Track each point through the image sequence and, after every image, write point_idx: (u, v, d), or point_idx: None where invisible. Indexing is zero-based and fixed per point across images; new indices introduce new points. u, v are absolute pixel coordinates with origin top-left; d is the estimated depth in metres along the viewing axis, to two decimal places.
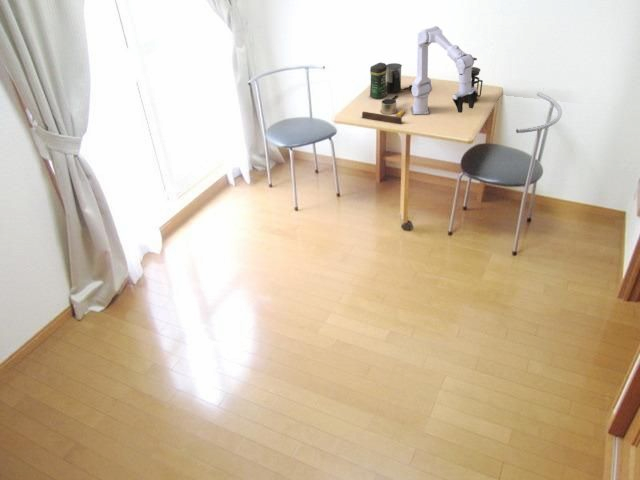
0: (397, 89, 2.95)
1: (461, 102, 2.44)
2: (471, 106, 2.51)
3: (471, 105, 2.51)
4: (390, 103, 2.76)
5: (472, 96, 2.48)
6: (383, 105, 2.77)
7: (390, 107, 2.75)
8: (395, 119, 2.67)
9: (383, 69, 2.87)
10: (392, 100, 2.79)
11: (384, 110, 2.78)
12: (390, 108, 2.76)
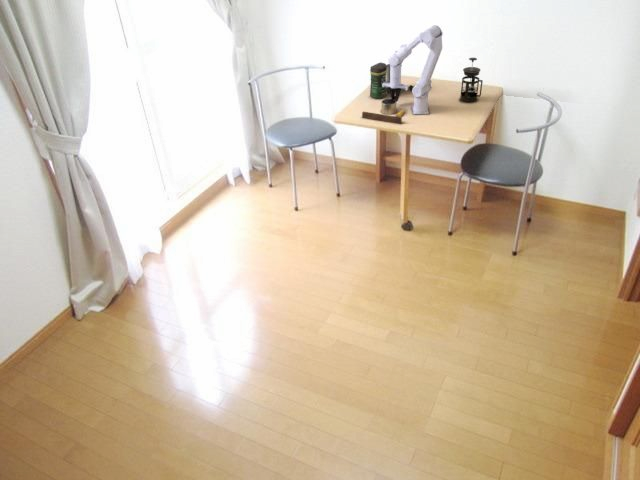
0: None
1: (389, 92, 2.81)
2: None
3: None
4: (390, 103, 2.76)
5: None
6: (383, 105, 2.77)
7: (390, 107, 2.75)
8: (395, 119, 2.67)
9: (383, 69, 2.87)
10: (392, 100, 2.79)
11: (384, 110, 2.78)
12: (390, 108, 2.76)
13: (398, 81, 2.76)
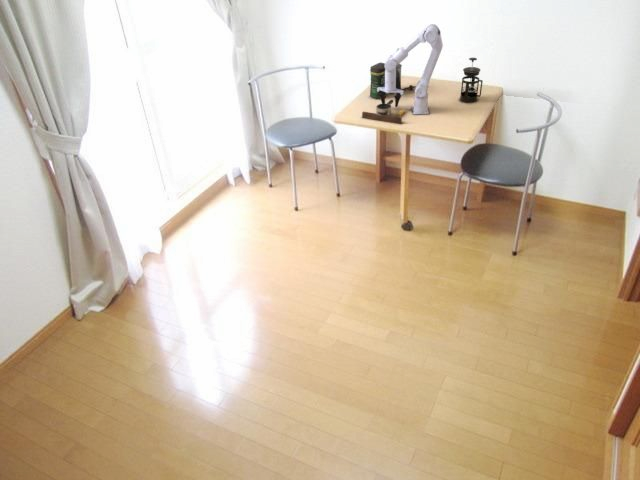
0: None
1: (380, 96, 2.78)
2: None
3: None
4: (385, 108, 2.71)
5: None
6: (378, 110, 2.72)
7: (385, 111, 2.71)
8: (395, 119, 2.67)
9: (383, 69, 2.87)
10: (387, 105, 2.74)
11: None
12: (385, 113, 2.71)
13: (393, 86, 2.71)
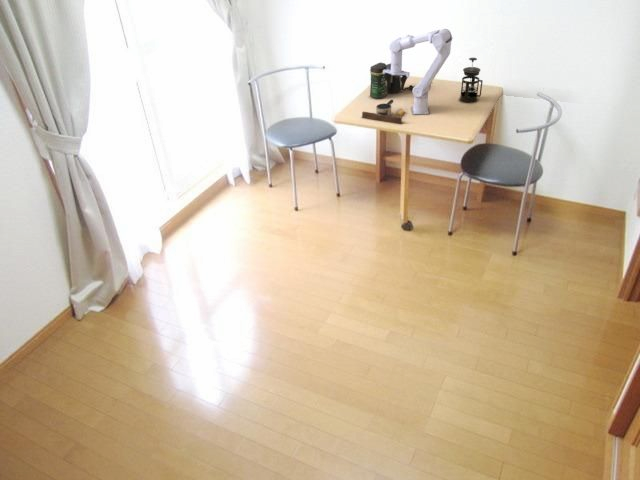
0: (397, 89, 2.95)
1: (385, 78, 2.77)
2: None
3: None
4: (385, 108, 2.71)
5: None
6: (378, 110, 2.72)
7: (385, 111, 2.71)
8: (395, 119, 2.67)
9: (383, 69, 2.87)
10: (387, 105, 2.74)
11: None
12: (385, 113, 2.71)
13: (399, 68, 2.70)
